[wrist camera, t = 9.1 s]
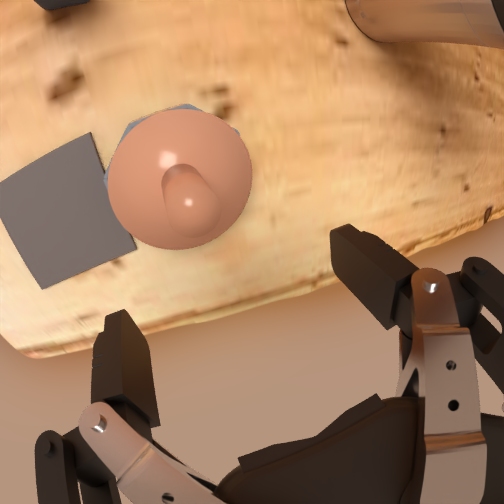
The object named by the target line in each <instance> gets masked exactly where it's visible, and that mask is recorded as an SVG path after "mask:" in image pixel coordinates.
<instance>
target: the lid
mask: <svg viewBox="0 0 504 504" xmlns="http://www.w3.org/2000/svg"><path fill="white" fill-rule="evenodd" d="M251 184H252V166H251V160H250V157H249V153H248V151H247V148H246V146H245V144H244V142H243V141H242V139H241V137H240V136H239V135H238V134H237V132H236V131H235V130H234V129H233V128H232V127H231V126H230V125H228V124H227V123H226V122H224V121H223V120H221V119H220V118H218V117H216V116H214V115H212V114H209V113H206V112H203V111H199V110H192V109H173V110H167V111H163V112H159V113H157V114H154V115H152V116H150V117H148V118H146V119H145V120H143V121H141V122H140V123H139V124H137V125H136V126H135V127H134V128H133V129H132V130H131V131H130V132H129V133H128V134H127V135H126V136H125V137H124V139H123V140H122V141H121V143H120V144H119V146H118V148H117V150H116V151H115V153H114V156H113V158H112V161H111V164H110V168H109V172H108V195H109V200H110V203H111V206H112V209H113V211H114V213H115V215H116V217H117V219H118V220H119V222H120V223H121V225H122V226H123V227H124V228H125V229H126V230H127V231H128V232H129V233H130V234H131V235H133V236H134V237H135V238H137V239H138V240H140V241H142V242H144V243H146V244H148V245H151V246H154V247H157V248H162V249H170V250H180V249H188V248H193V247H197V246H200V245H203V244H205V243H207V242H210V241H211V240H213V239H215V238H217V237H218V236H219V235H221V234H222V233H224V232H225V231H226V230H227V229H228V228H229V227H230V226H231V225H232V224H233V223H234V222H235V221H236V219H237V218H238V217H239V215H240V214H241V212H242V210H243V209H244V207H245V205H246V202H247V200H248V197H249V194H250V190H251Z"/></svg>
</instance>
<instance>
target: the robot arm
mask: <svg viewBox="0 0 504 504" xmlns="http://www.w3.org/2000/svg"><path fill="white" fill-rule="evenodd" d="M346 5H347V8H348V11H349V13H350V15H351V17H352V19H353V21H354V22H355V23H356V25H357V26H358V27H359V28H360V30H361V31H362V32H363V33H365V34H366V35H367V36H368V37H370V38H372V39H373V40H375V41H379V42H384V43H389V42H441V43H457V44H468V45H477V46H485V47H491V48H498V49H504V0H346ZM330 248H331V263H332V267H333V270H334V272H335V274H336V276H337V277H338V278H339V279H340V280H341V281H342V282H343V283H344V284H345V285H346V286H347V287H348V289H349V290H350V291H351V292H352V293H353V294H354V295H355V296H356V297H357V298H358V299H359V300H360V301H361V303H362V304H363V305H364V306H365V307H366V308H367V309H368V310H369V311H370V312H371V313H372V314H373V315H374V317H375V318H376V319H377V320H378V321H379V322H380V323H381V324H382V325H383V327H385V329H386V330H389V329H390V328H392V327H393V326H395V325H398V326H399V328H400V332H399V380H398V385H397V389H396V396H395V397H392V398H387V399H383V400H381V399H380V398H379V396H378V395H377V394H374V395H373V396H371V397H369V398H368V399H366V400H364V401H363V402H361V403H359V404H357V405H356V406H354V407H352V408H350V409H348V410H347V411H345V412H344V413H343V414H342V415H340V416H339V417H338V418H337V419H336V420H335V421H334V422H333V423H331V424H330V425H329V426H328V427H326V428H325V429H324V430H323V431H322V432H320V433H319V434H318V435H317V436H314V437H312V438H308V439H303V440H297V441H293V442H287V443H281V444H274V445H271V446H269V447H266V448H263V449H261V450H258V451H255V452H252V453H250V454H247V455H244V456H241V457H238V460H239V463H240V465H239V466H238V467H236V468H235V469H233V470H232V471H231V472H230V473H228V474H227V475H226V476H225V477H224V478H223V479H222V481H221V482H220V483H219V485H218V484H216V483H215V482H213V481H211V480H210V479H208V478H206V477H205V476H203V475H202V474H200V473H199V472H197V471H195V470H194V469H192V468H191V467H189V466H188V465H187V464H185V463H184V462H182V461H181V460H180V459H178V458H177V457H176V456H175V455H173V454H172V453H171V452H169V451H168V450H167V449H166V448H165V447H163V446H162V445H161V444H160V443H158V442H157V441H156V440H155V439H153V438H152V434H151V428H153V427H157V426H160V419H159V414H158V408H157V401H156V395H155V388H154V382H153V374H152V367H151V358H150V350H149V346H148V343H147V341H146V339H145V337H144V335H143V334H142V332H141V331H140V330H139V328H138V327H137V325H136V324H135V322H134V321H133V319H132V318H131V316H130V315H129V313H128V312H127V311H126V310H125V309H122V310H120V311H117V312H114V313H112V314H109V315H107V316H106V317H105V324H104V331H103V332H101V333H99V334H98V336H97V338H96V341H95V343H94V346H93V360H92V367H93V369H92V381H91V405H89V406H88V407H87V408H86V409H85V410H84V411H83V413H82V414H81V416H80V419H79V426H78V427H76V428H75V429H73V430H71V431H70V432H68V433H66V434H65V435H63V436H61V435H59V434H58V433H56V432H55V431H52V430H48V431H45V432H43V433H42V434H41V435H40V436H39V437H38V439H37V441H36V444H35V469H36V485H37V494H38V503H39V504H81V501H80V495H79V489H78V483H77V482H79V483H80V489H81V495H82V500H83V504H121V499H120V495H119V492H118V488H119V489H120V490H121V491H122V493H123V494H124V495H125V496H126V497H127V498H128V499H130V501H131V502H132V503H133V504H504V417H502V416H496V415H491V414H485V413H480V401H479V389H478V380H477V372H476V364H475V359H476V360H477V361H478V363H479V364H480V365H481V366H482V367H483V369H484V370H485V371H486V372H487V374H488V375H489V376H490V377H491V378H492V380H493V381H494V382H495V384H496V385H497V386H498V388H499V389H500V390H501V392H502V393H503V394H504V274H502V273H501V272H500V271H499V270H498V269H497V268H495V267H494V266H493V265H492V264H491V263H489V262H488V261H486V260H484V259H483V258H479V257H469V258H467V259H466V260H465V261H464V263H463V266H462V269H461V271H459V272H455V273H451V274H447V275H445V274H444V273H442V272H441V271H438V270H437V269H433V268H422V269H419V268H418V267H416V266H415V265H414V264H413V263H411V262H410V261H409V260H408V259H406V258H405V257H404V256H403V255H401V254H400V253H399V252H398V251H396V250H395V249H394V250H393V248H392V247H391V246H390V245H388V244H386V243H385V242H384V241H383V240H382V239H380V238H379V237H378V236H376V235H374V234H371V233H368V232H365V231H363V232H360V231H359V230H358V229H356V228H355V227H354V226H352V225H351V224H346V225H343V226H340V227H338V228H335V229H333V230H331V231H330ZM483 305H484V306H485V307H486V308H487V309H488V310H489V311H490V312H491V313H492V314H493V315H494V316H495V317H496V318H497V319H498V320H499V322H500V323H501V325H502V334H500V333H499V331H497V329H496V328H495V327H494V326H493V325H492V324H491V323H490V322H489V321H488V320H487V319H486V318H485V317H484V316H483V315H482V314H481V313H480V312H481V310H482V307H483ZM502 410H503V412H504V402H503V405H502ZM115 477H117V479H118V481H117V482H116V478H115ZM117 486H118V487H117Z"/></svg>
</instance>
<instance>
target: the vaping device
mask: <svg viewBox="0 0 504 504" xmlns="http://www.w3.org/2000/svg"><path fill="white" fill-rule="evenodd" d="M34 1H35V2H36V3H37V4H38V5H40V6H41V7H42V8H44V9H48V10H54V9H58V8H63V7H68V6H73V5H78V4H84V3H87V2H89V1H90V0H34Z"/></svg>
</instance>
